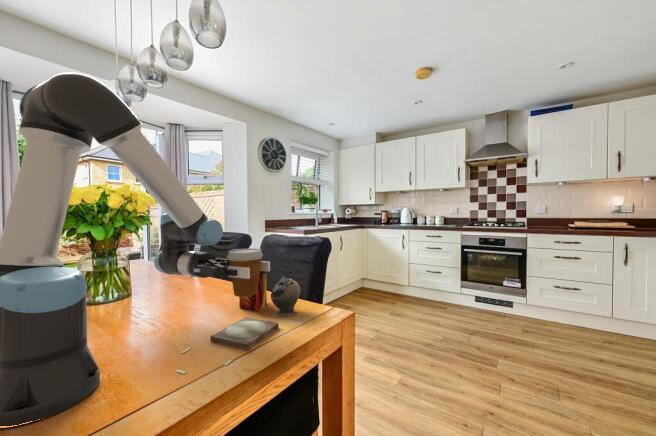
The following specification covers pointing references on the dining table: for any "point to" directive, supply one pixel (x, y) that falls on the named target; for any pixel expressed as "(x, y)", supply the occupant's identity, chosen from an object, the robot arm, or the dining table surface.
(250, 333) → the board
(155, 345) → the dining table surface
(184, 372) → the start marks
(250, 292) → the disposable coffee cup
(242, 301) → the mug
